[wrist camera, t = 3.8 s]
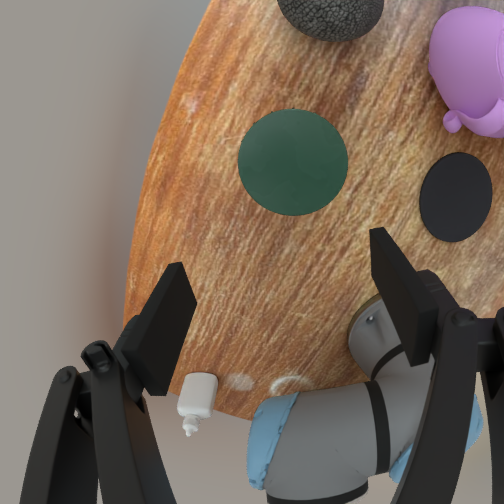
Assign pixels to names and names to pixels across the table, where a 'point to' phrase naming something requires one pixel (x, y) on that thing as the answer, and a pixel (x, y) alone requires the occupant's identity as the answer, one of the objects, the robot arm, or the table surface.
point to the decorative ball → (332, 17)
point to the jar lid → (292, 162)
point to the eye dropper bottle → (197, 399)
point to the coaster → (455, 197)
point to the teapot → (470, 69)
